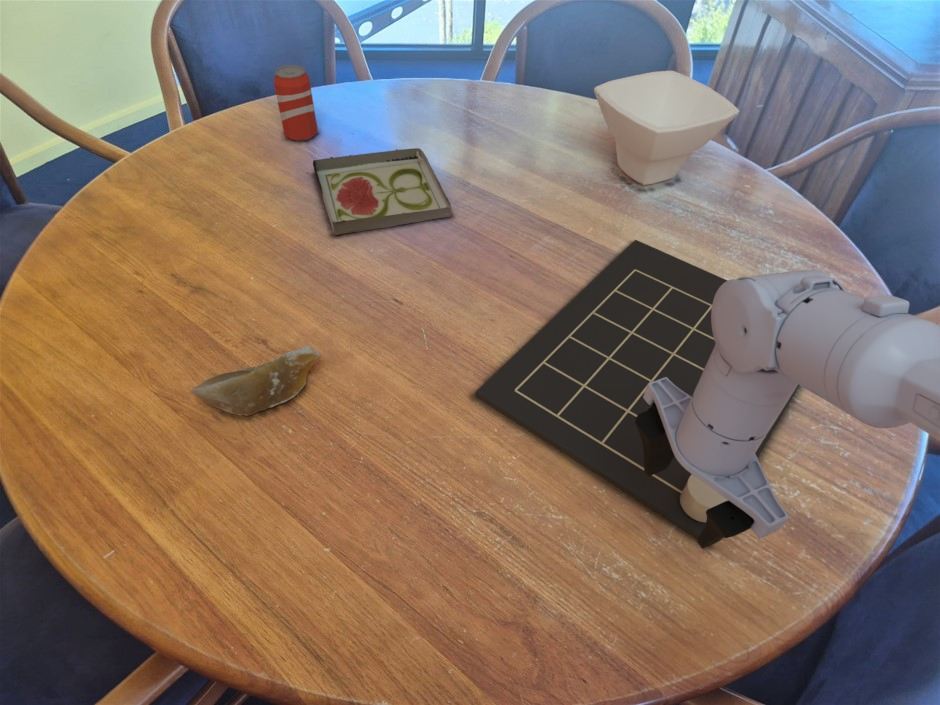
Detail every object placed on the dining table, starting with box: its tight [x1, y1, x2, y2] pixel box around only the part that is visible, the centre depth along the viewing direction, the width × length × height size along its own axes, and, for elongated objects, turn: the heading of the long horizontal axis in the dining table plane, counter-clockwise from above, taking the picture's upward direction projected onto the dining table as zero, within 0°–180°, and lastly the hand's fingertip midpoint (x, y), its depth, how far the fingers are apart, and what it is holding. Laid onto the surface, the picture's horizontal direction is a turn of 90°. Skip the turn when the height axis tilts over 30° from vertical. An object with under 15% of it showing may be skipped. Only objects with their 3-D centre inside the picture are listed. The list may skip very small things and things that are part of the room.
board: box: [475, 239, 800, 539], centre depth 79 cm, size 40×30×1 cm
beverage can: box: [273, 64, 318, 142], centre depth 113 cm, size 6×6×12 cm
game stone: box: [680, 474, 728, 523], centre depth 63 cm, size 4×4×3 cm
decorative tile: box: [312, 147, 452, 236], centre depth 104 cm, size 20×3×20 cm
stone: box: [190, 345, 322, 417], centre depth 72 cm, size 7×6×15 cm
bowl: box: [593, 70, 740, 186], centre depth 106 cm, size 19×19×14 cm
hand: (680, 504), depth 55 cm, fingers open, 7 cm apart
